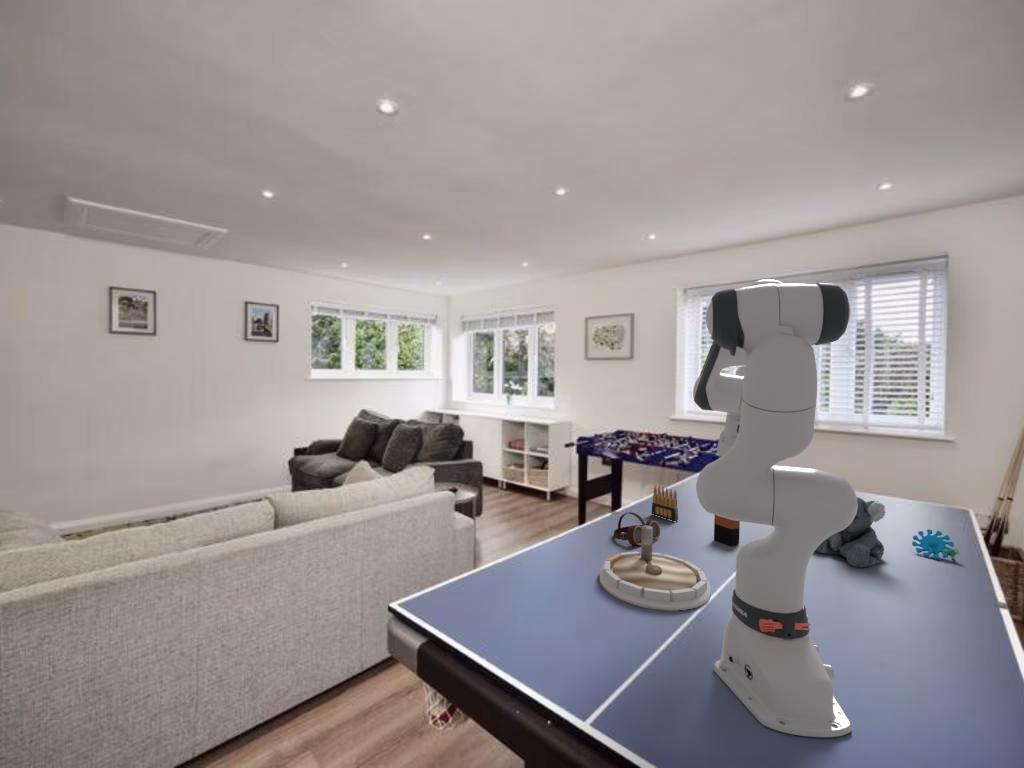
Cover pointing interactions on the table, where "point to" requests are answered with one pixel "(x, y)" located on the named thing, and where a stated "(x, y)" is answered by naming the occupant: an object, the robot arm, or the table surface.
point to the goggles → (636, 531)
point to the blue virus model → (935, 545)
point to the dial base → (655, 603)
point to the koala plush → (858, 537)
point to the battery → (726, 530)
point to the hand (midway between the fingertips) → (734, 478)
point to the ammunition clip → (665, 504)
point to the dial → (653, 568)
